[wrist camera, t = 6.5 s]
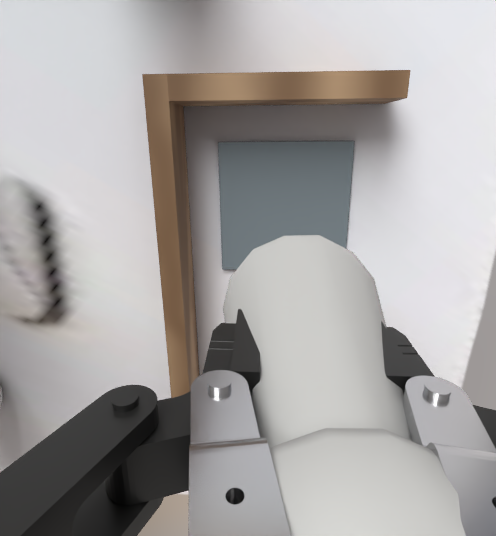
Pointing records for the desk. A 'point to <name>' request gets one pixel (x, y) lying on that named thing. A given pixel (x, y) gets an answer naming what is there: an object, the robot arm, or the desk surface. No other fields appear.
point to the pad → (282, 193)
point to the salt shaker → (334, 397)
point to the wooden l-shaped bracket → (176, 181)
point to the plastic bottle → (0, 397)
